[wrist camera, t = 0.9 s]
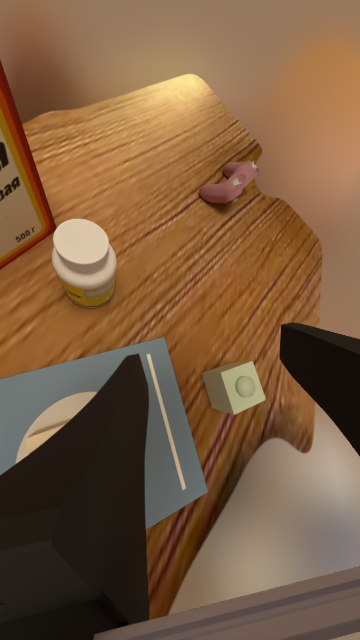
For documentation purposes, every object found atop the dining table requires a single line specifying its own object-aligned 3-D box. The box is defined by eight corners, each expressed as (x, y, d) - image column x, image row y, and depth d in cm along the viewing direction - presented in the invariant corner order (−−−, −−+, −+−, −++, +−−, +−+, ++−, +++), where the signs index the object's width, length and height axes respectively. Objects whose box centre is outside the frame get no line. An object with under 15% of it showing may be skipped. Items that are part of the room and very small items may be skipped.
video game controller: (207, 217, 36) (242, 202, 31) (194, 191, 34) (229, 170, 28) (233, 190, 40) (268, 172, 35) (223, 165, 38) (259, 142, 32)
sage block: (239, 395, 28) (269, 400, 23) (211, 408, 26) (237, 415, 21) (229, 363, 29) (255, 360, 24) (201, 373, 27) (223, 372, 22)
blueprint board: (205, 488, 24) (221, 507, 20) (-49, 643, 15) (-92, 716, 12) (162, 337, 26) (170, 332, 23) (-73, 398, 18) (-112, 403, 15)
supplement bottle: (57, 276, 24) (29, 217, 15) (102, 262, 26) (101, 204, 17) (77, 317, 24) (60, 281, 15) (121, 299, 26) (130, 259, 17)
